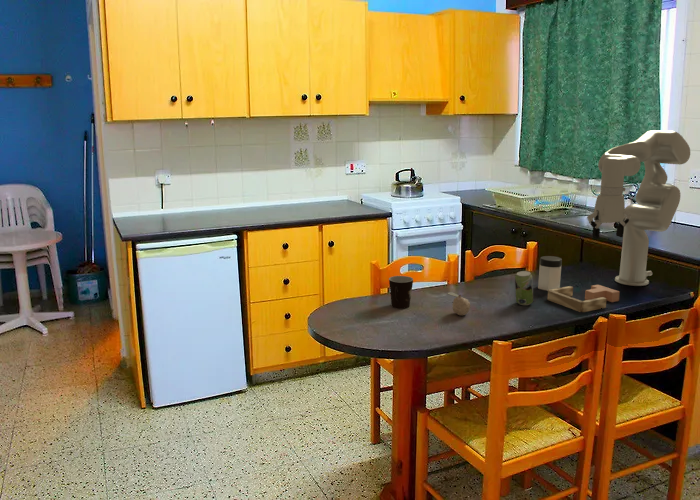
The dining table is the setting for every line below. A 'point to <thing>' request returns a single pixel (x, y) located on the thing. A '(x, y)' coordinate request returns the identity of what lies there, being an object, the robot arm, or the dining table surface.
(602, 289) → the t block
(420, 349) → the dining table surface
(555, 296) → the dock
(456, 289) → the dining table surface
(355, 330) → the dining table surface
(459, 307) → the garlic bulb
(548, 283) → the jar
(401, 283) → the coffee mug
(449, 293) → the butter knife
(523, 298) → the beverage can
